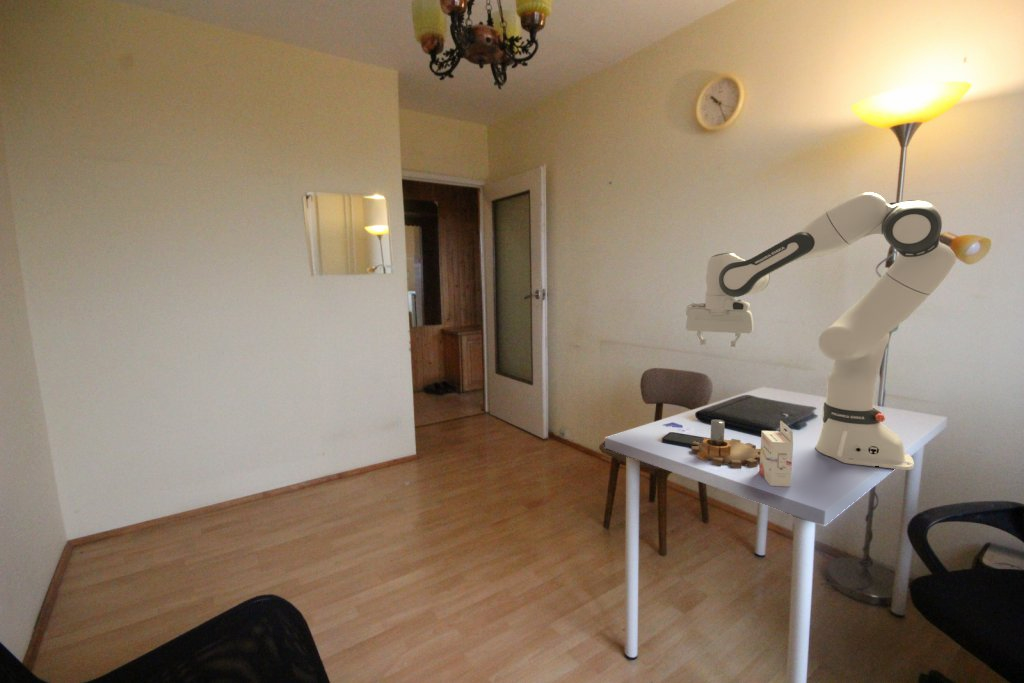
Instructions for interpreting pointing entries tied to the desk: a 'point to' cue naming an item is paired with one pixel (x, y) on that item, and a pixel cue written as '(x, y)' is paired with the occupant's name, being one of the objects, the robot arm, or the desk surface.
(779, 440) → the ink cartridge box
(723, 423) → the pin
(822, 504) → the desk surface
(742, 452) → the sprocket
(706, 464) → the desk surface
